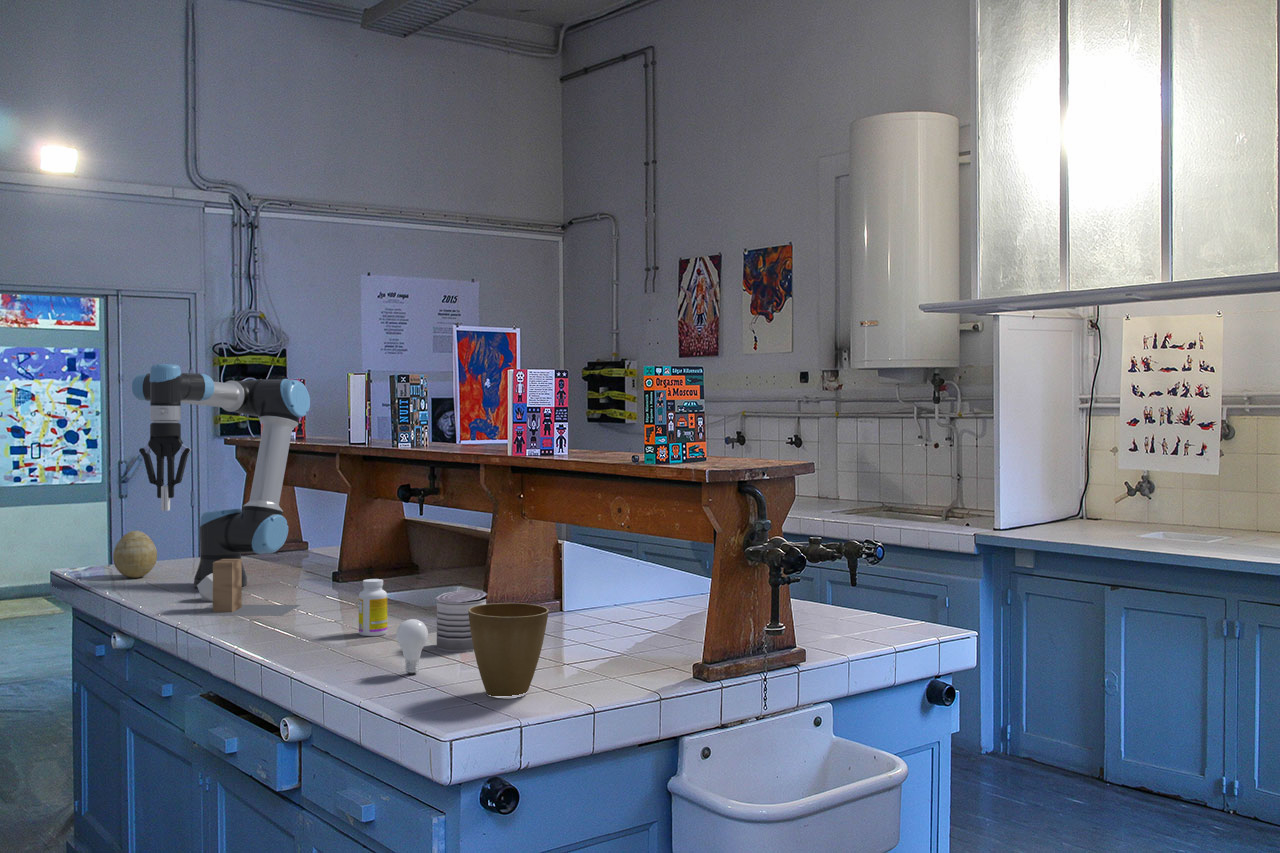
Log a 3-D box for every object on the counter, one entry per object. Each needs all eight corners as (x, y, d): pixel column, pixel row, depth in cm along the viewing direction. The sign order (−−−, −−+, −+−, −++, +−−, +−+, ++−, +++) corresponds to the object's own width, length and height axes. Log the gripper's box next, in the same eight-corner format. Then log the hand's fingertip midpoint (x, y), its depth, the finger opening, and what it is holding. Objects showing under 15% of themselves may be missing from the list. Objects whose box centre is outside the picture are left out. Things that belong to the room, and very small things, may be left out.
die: (238, 603, 302) (232, 573, 306) (225, 592, 294) (219, 562, 299) (209, 614, 301) (204, 584, 305) (196, 603, 293) (190, 573, 298)
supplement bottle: (392, 632, 259) (393, 579, 259) (377, 637, 252) (377, 583, 252) (368, 630, 261) (368, 577, 261) (352, 635, 255) (353, 581, 254)
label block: (221, 607, 288) (222, 558, 288) (241, 607, 288) (241, 558, 288) (211, 612, 281) (212, 562, 281) (232, 612, 281) (232, 562, 281)
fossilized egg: (145, 580, 338) (145, 532, 337) (105, 580, 338) (105, 532, 338) (164, 575, 350) (164, 528, 350) (125, 574, 350) (125, 528, 350)
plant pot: (481, 708, 191) (481, 618, 191) (458, 689, 205) (458, 605, 205) (559, 699, 198) (560, 612, 198) (532, 681, 211) (533, 600, 211)
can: (495, 648, 241) (495, 595, 241) (447, 654, 235) (447, 599, 235) (474, 639, 251) (474, 588, 251) (427, 645, 245) (428, 592, 245)
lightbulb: (398, 670, 220) (398, 616, 220) (429, 670, 220) (429, 616, 220) (393, 677, 213) (393, 622, 213) (426, 677, 214) (426, 622, 214)
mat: (212, 606, 293) (212, 604, 293) (301, 606, 293) (301, 604, 293) (188, 617, 277) (188, 615, 277) (282, 617, 277) (282, 615, 277)
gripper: (135, 422, 283) (135, 511, 283) (188, 422, 286) (188, 511, 286) (143, 422, 291) (143, 509, 291) (194, 422, 293) (194, 508, 293)
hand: (165, 510), depth 288 cm, fingers closed
